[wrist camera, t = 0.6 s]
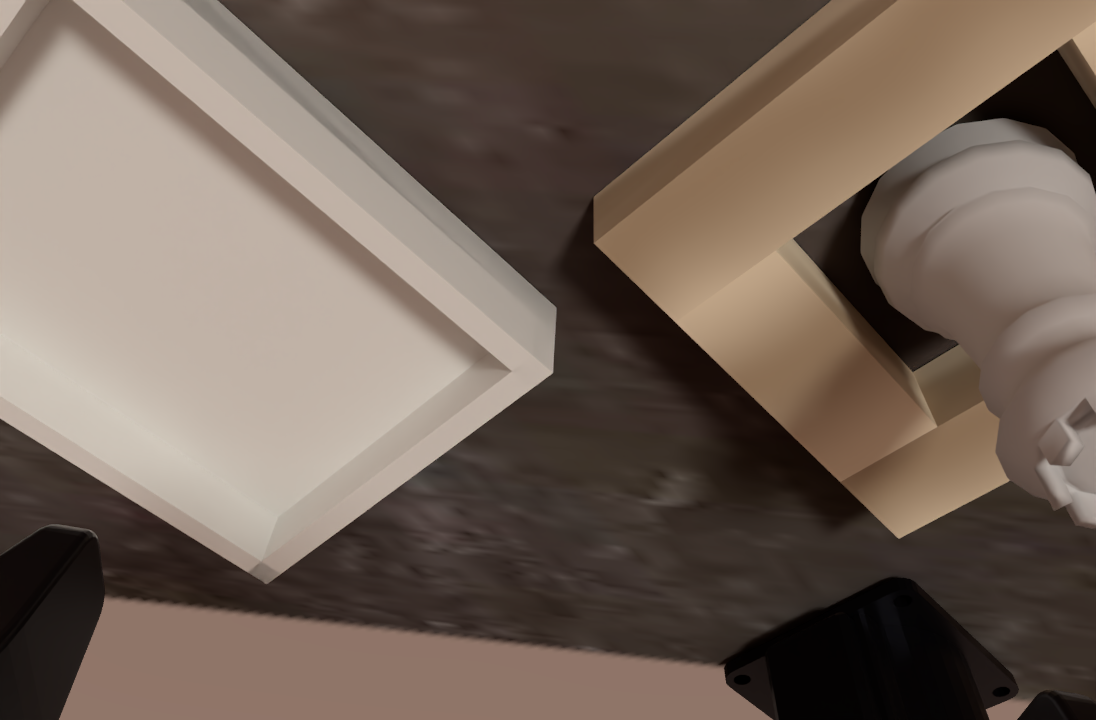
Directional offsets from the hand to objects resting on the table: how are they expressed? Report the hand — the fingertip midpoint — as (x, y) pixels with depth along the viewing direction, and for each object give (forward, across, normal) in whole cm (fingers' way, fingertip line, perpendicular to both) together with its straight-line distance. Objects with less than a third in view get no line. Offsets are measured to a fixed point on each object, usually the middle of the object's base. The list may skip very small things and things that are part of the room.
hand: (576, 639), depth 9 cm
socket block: (+13, -8, 0) cm, 15 cm away
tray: (+13, +8, +5) cm, 16 cm away
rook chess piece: (+13, -8, 0) cm, 15 cm away
